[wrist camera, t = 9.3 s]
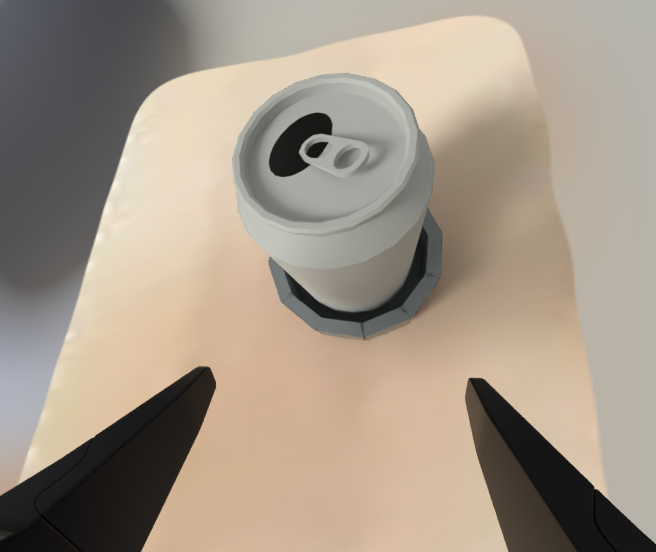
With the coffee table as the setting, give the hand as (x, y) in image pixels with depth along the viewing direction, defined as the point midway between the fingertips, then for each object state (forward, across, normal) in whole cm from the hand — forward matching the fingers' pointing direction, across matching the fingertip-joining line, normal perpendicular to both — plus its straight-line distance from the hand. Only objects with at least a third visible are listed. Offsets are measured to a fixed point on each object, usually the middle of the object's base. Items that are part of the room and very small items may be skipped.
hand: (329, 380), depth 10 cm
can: (+12, 0, +1) cm, 12 cm away
